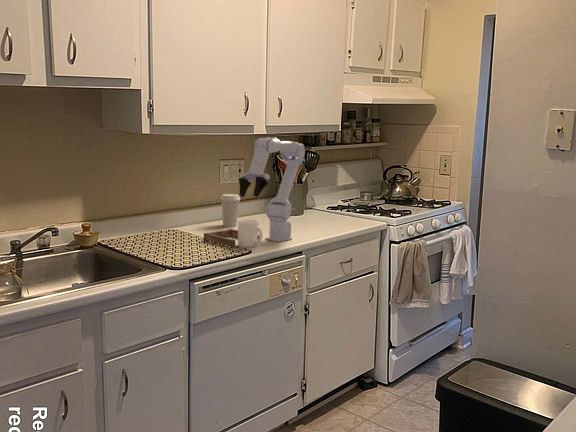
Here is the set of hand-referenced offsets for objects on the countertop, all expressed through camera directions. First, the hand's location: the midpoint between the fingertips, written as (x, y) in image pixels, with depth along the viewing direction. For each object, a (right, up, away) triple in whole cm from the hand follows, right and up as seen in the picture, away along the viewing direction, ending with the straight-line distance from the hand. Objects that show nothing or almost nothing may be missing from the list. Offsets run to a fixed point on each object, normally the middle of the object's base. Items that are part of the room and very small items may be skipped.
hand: (248, 196), depth 230 cm
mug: (0, -21, +12) cm, 24 cm away
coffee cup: (-13, -13, +53) cm, 56 cm away
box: (-8, -19, +19) cm, 28 cm away
